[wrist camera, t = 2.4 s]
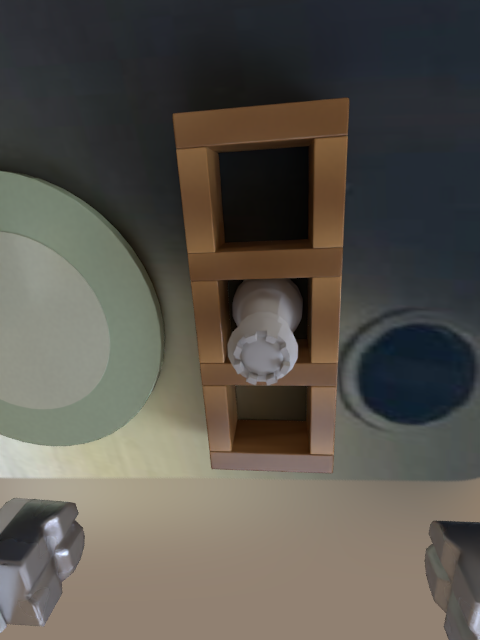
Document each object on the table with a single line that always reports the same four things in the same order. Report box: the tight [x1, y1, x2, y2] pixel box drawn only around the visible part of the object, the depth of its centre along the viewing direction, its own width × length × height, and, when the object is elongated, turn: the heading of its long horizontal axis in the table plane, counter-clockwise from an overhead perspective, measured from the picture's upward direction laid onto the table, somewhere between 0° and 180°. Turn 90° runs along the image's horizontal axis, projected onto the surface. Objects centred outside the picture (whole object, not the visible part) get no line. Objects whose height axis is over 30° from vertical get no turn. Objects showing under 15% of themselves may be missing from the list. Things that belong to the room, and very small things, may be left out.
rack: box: [173, 98, 349, 473], centre depth 21 cm, size 21×8×4 cm, turn 3°
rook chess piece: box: [227, 278, 303, 386], centre depth 19 cm, size 4×4×8 cm
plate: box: [0, 170, 165, 446], centre depth 25 cm, size 20×20×1 cm
